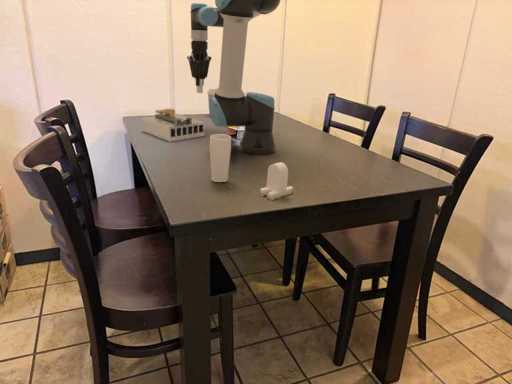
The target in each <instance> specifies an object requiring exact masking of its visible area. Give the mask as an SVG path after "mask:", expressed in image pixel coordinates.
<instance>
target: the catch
mask: <svg viewBox="0 0 512 384" xmlns="http://www.w3.org/2000/svg"><path fill="white" fill-rule="evenodd" d="M155 114H165V115H169V116H172V117H175V114H176V111H175V109H173V108H165V109H157V110H156V109H155Z"/></svg>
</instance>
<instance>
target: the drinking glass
mask: <svg viewBox="0 0 512 384" xmlns="http://www.w3.org/2000/svg"><path fill="white" fill-rule="evenodd" d="M209 136H210V137H209V154H210V155H209V157H210V159H209V160H210V169H211V170H210V171H211V181H212V182H213V181H214V182H213V183H215V182H225V183H227V182H228V180H229V169H230V161H231V150H232V136H231V135H229V134H223V133H215V134H211V135H209ZM226 181H227V182H226Z"/></svg>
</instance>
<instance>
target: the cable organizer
mask: <svg viewBox="0 0 512 384" xmlns="http://www.w3.org/2000/svg"><path fill="white" fill-rule="evenodd" d="M288 179H289V170H288V166H287V164H286V163H284V162H281V161H280V162H276V163H272V164H270V165H269V166H268V168H267V177H266V186H265V187H261V188H260V191H259V193H260V192H261V193H266V192H269V193H268V195H267V197H268V196H270V197H273V196H276V195H279V194H283V193H285V192H288V191H291V190H293V191H294V187H293V186H291V185H289V186H288V181H289V180H288Z"/></svg>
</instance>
